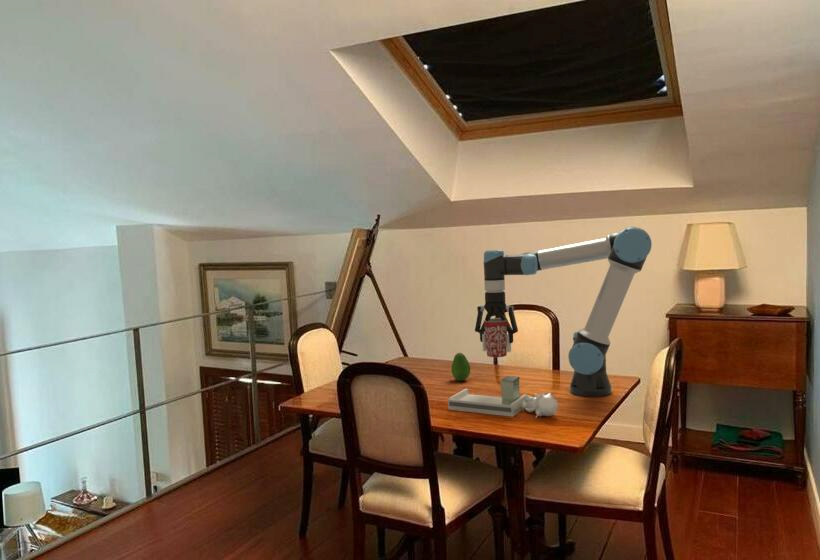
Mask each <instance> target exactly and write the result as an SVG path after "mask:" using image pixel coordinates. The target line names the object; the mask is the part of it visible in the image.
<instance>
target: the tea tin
mask: <svg viewBox="0 0 820 560" xmlns="http://www.w3.org/2000/svg"><path fill="white" fill-rule="evenodd" d="M500 385H501V387H500V388H501V390H500V391H501V397H502V404H503V405H510V404H511V403H513V402H514V401H515V400H517V399H518V398H520V397H521V395H520V393H521V392H520V391H521V389H520V376H512V375H506V376H504V377H503V378H501V379H500Z"/></svg>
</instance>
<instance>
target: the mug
mask: <svg viewBox="0 0 820 560" xmlns="http://www.w3.org/2000/svg"><path fill="white" fill-rule="evenodd" d="M507 321H508V322H509V319H508V318H507V320H506V321H502V320H501V319H500V317H494V318H492V317H491V318H490V320H489V321H486V320H485V319H483V322H484V326H485V332H484V333H485V337H486V348H487V350H486V355H487V357H490V358H505V357H507V354H508V352H507V337H506V336H507V334H508V332H507Z"/></svg>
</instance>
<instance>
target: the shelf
mask: <svg viewBox="0 0 820 560" xmlns="http://www.w3.org/2000/svg"><path fill="white" fill-rule="evenodd" d="M527 395H528V394H527V393H524V394H522V395H520V398H518V399H517V400H515V401H514V402H513V403H511V404H510V405H503V404H502V396H491V395H480V394H472V393H471V394H470V393H469V389H468V388H464V389H462V390H461V391H458V392H457V393H455V394H454V395H451V396H450V397H449V398H448V399H447V400H448V401H447V405H448V410H450V411H451V410H452V411H459V412H466V413H467V412H468V413H469V412H470V413H477V414H485V415H495V416H503V417H512V418H513V417H515V416H516V415H517V414H519V412H520V411H522V410H524V409H523V408H522V407H521V403H522V402H526V403H528V402H527V401H526V400H525V397H526V396H527Z"/></svg>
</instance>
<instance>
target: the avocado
mask: <svg viewBox="0 0 820 560" xmlns="http://www.w3.org/2000/svg"><path fill="white" fill-rule="evenodd" d="M470 365H471V364H470V363H469V361H468V359H467V357H466V355H464V354H463V353H461V352H457V353H456V354H455V355H454V357H453V361H452V364H451V373H452V377H453V378H454V379H455V380H456V381H459V382H462V381H465V380H467V379H468V377H469V376H470V374H471V366H470Z"/></svg>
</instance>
